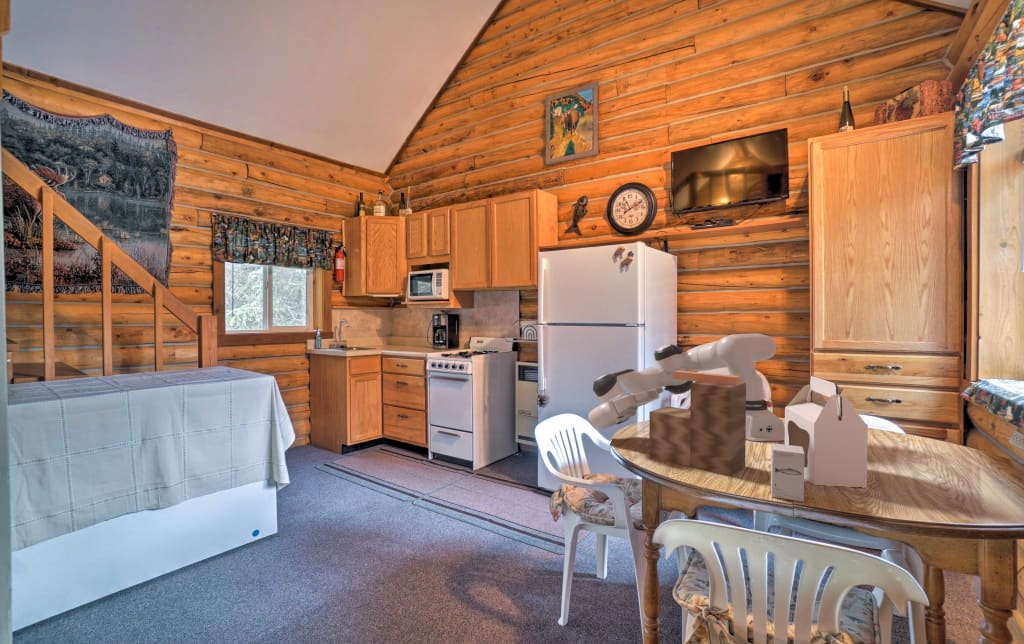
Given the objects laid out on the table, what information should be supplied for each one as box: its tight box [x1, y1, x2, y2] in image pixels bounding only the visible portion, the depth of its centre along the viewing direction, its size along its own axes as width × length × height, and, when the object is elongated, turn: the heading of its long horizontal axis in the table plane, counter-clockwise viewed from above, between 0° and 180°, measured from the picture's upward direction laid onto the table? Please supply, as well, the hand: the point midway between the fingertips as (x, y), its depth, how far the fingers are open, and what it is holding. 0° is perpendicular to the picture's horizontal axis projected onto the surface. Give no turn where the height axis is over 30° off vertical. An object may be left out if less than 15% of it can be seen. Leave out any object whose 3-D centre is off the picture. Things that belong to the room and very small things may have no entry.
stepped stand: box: [648, 381, 747, 477], centre depth 152 cm, size 26×12×26 cm, turn 44°
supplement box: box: [770, 442, 805, 503], centre depth 124 cm, size 7×7×13 cm
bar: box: [673, 370, 741, 386], centre depth 149 cm, size 20×4×2 cm, turn 44°
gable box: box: [784, 375, 869, 489], centre depth 140 cm, size 22×13×28 cm, turn 169°
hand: (655, 391), depth 162 cm, fingers open, 8 cm apart
